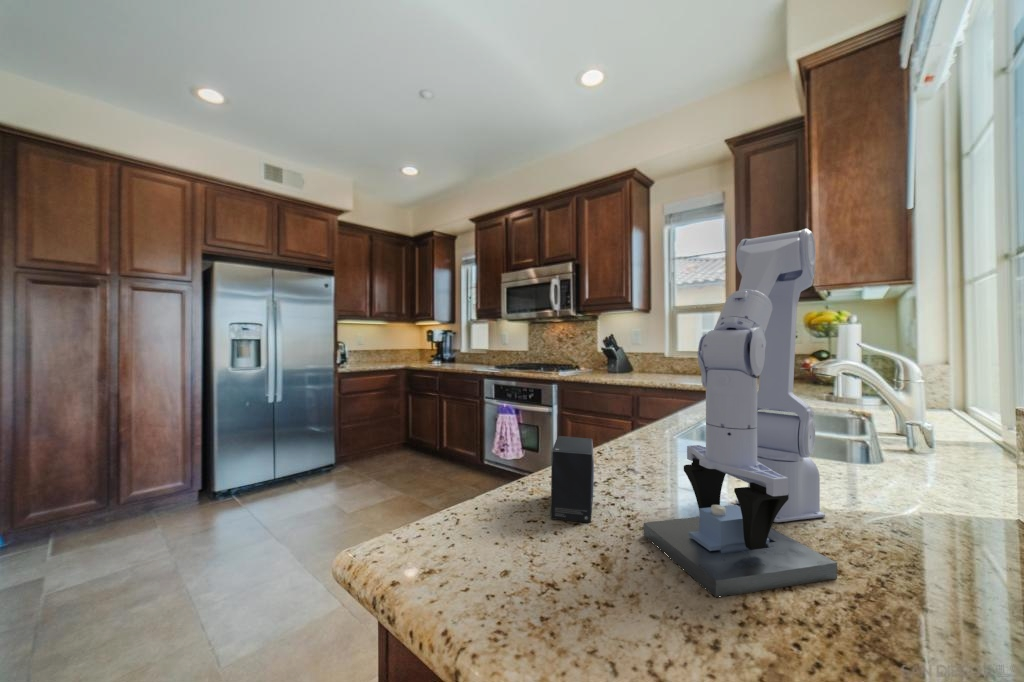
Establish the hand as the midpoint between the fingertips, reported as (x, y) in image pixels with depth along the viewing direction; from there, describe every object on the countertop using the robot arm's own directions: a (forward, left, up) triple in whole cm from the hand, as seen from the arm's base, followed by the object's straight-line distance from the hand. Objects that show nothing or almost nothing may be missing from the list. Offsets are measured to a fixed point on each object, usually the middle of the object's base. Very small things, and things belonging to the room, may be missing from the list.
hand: (730, 532), depth 51 cm
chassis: (0, 0, -3) cm, 3 cm away
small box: (+14, -18, -3) cm, 23 cm away
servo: (0, 0, -3) cm, 3 cm away
